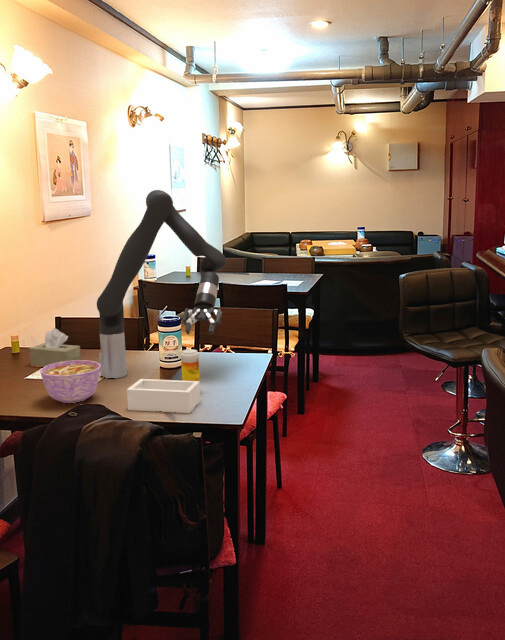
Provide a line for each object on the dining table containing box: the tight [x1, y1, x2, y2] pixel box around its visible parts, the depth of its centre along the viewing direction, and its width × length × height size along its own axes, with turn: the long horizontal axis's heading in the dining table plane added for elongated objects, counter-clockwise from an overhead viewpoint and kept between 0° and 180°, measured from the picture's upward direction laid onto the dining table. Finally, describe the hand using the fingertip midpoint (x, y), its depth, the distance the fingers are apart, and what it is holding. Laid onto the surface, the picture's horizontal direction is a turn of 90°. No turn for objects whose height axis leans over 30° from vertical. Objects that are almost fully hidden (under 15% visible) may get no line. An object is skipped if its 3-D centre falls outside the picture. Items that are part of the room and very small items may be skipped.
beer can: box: [180, 348, 200, 381], centre depth 224 cm, size 6×6×15 cm
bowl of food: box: [39, 359, 101, 404], centre depth 218 cm, size 20×20×12 cm
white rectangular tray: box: [126, 378, 201, 414], centre depth 211 cm, size 21×12×7 cm, turn 78°
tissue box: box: [28, 328, 82, 366], centre depth 263 cm, size 19×10×16 cm, turn 68°
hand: (198, 333), depth 232 cm, fingers open, 8 cm apart
